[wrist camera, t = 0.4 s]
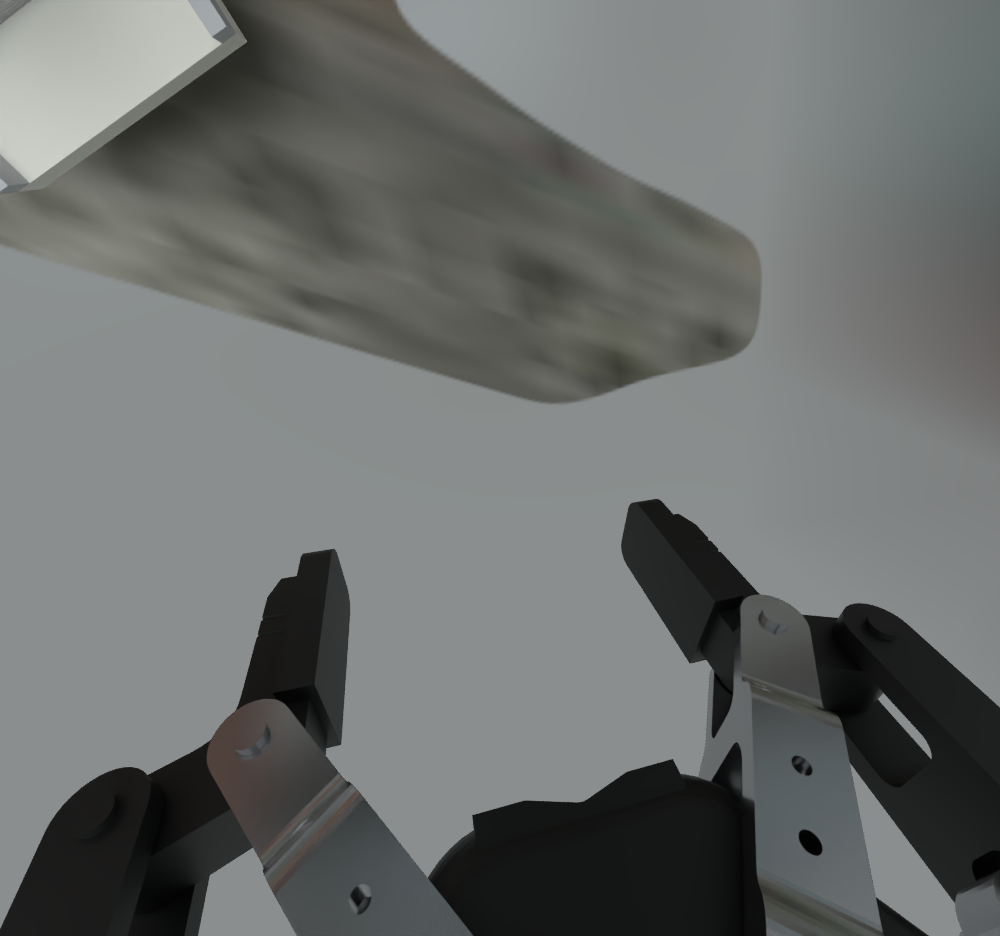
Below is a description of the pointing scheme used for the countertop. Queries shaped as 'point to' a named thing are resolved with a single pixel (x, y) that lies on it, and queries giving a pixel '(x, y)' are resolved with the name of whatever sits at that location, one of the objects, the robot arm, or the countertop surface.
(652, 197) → the countertop surface
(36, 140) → the beam
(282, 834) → the robot arm
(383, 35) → the countertop surface
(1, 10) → the block
